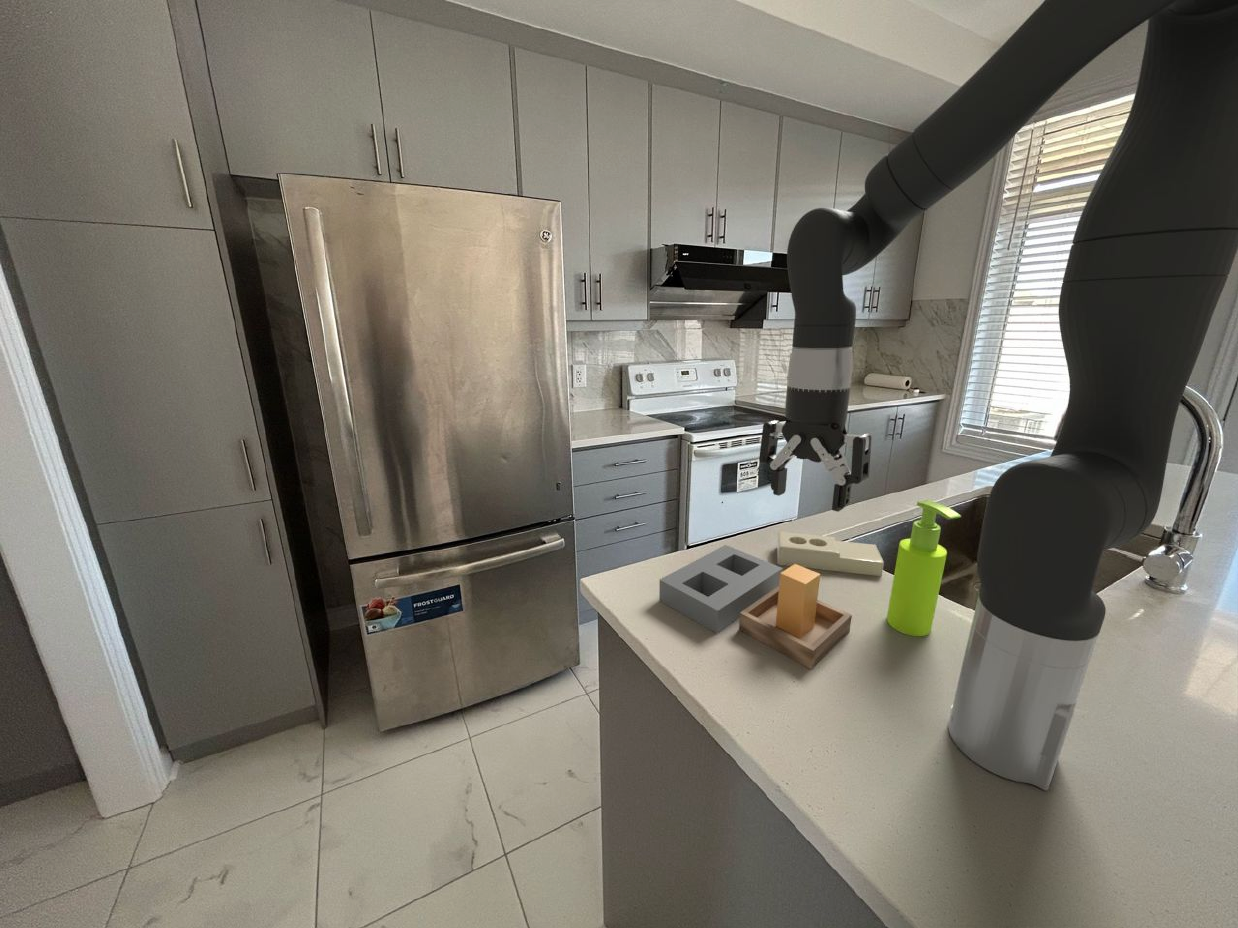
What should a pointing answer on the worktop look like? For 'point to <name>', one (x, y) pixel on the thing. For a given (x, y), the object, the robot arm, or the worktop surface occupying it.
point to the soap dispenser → (919, 573)
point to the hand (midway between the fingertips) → (807, 501)
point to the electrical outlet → (828, 554)
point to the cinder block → (719, 586)
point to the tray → (803, 650)
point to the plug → (797, 600)
